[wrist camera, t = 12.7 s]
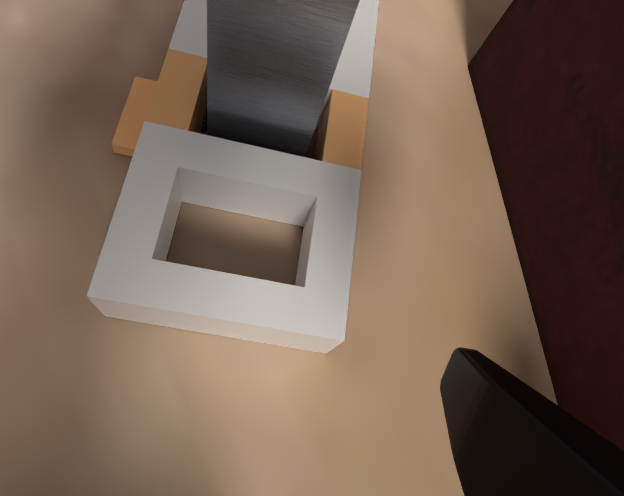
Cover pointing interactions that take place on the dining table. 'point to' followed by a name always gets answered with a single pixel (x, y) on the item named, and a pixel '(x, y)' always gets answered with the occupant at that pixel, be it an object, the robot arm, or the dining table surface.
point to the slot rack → (235, 202)
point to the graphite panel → (272, 68)
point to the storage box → (564, 186)
